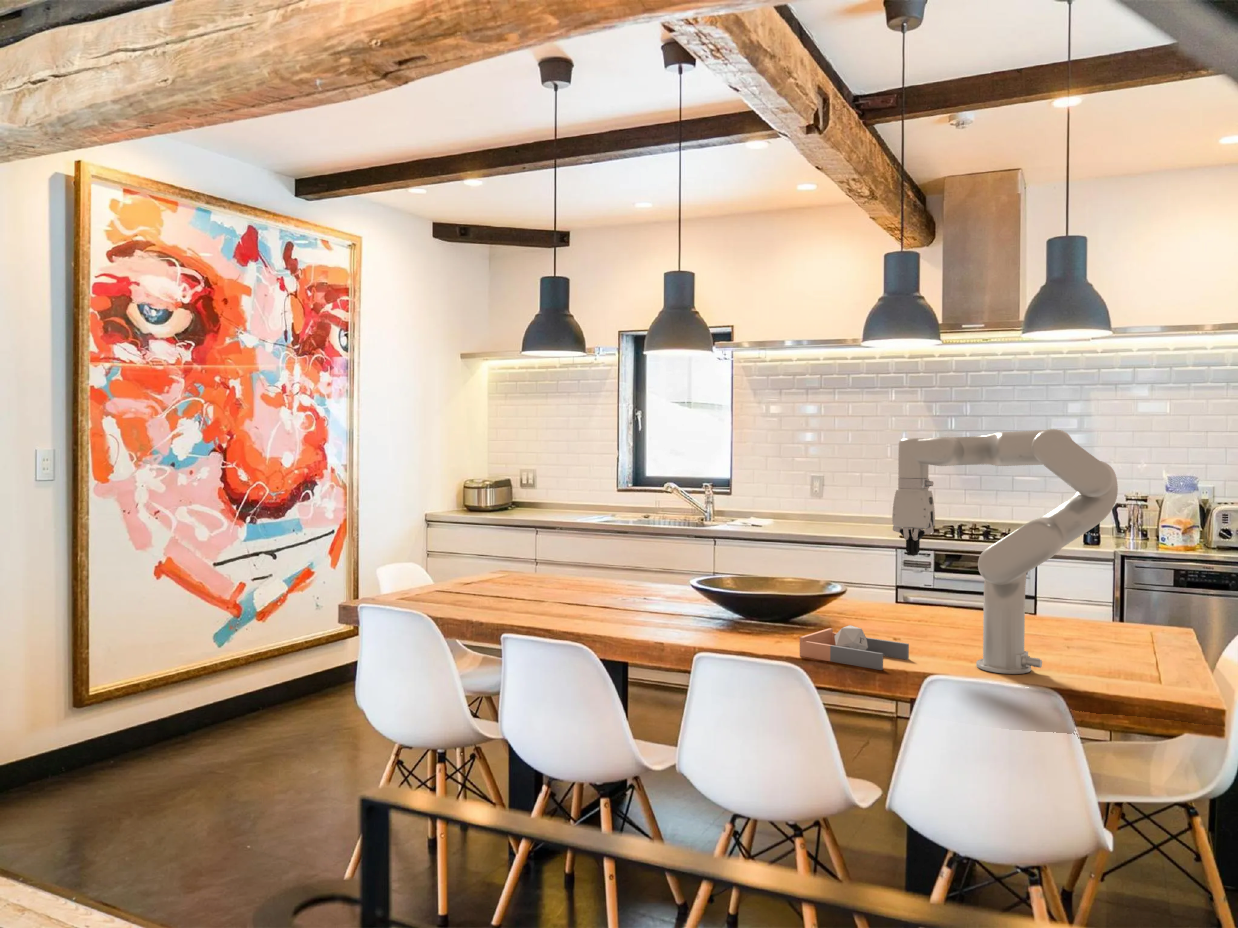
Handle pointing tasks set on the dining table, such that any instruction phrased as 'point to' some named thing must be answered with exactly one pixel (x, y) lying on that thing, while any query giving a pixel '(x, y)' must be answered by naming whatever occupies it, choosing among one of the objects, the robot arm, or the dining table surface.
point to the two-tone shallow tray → (851, 650)
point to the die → (851, 638)
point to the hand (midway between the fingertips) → (912, 554)
